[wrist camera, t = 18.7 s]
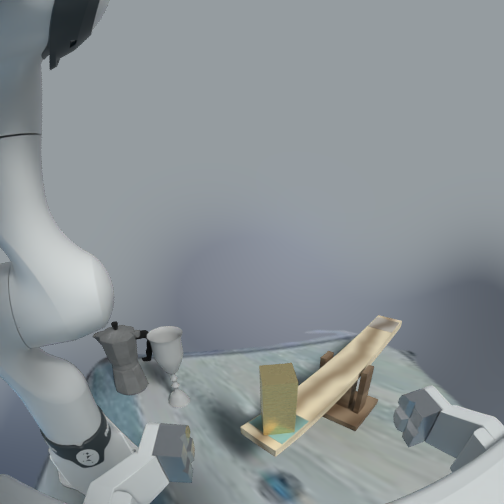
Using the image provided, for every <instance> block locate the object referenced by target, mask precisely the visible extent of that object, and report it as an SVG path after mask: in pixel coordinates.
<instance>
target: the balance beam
mask: <svg viewBox="0 0 504 504" xmlns="http://www.w3.org/2000/svg"><path fill="white" fill-rule="evenodd" d="M401 323H402V321H399V320H396V319H391V318H387V317H383V316H380V315H379V316H377V317H376V318H375V319H374V320H373V321H372V322H371V323H370V324H369V325H368V326H367V327H366V328H365V329H364V330H363V331H362V332H361V333H360V334H359V335H358V336H357V337H355V338H354V339H353V340H352V341H351V342H350V343H349V344H348V345H347V346H346V347H345V348H343V349H342V350H341V351H340V352H339V353H338V354H337V355H335V356H334V357H333V358H332V359H331V360H330V361H329V362H327V363H326V364H325V365H324V366H323V367H321V368H320V369H319V370H318V371H317V372H315V373H314V374H313V375H312V376H310V377H309V378H308V379H307V380H305V381H304V382H303V383H302V384H300V385H299V386H298V394H297V407H296V420H295V432H293V433H284V434H275V435H264V434H263V426H262V418H261V414H259V415H258V416H256V417H255V418H253V419H252V420H250V421H249V422H247V423H246V424H244V425H243V426H241V427H240V428H241V434H243V435H244V436H245V437H247V438H248V439H250V440H251V441H253V442H254V443H255V444H257V445H258V446H260V447H261V448H263V449H264V450H266V451H267V452H269V453H270V454H272V455H273V456H275V457H276V456H277V455H278V454H280V453H281V452H282V451H283V450H285V449H286V448H287V447H288V446H290V445H291V444H292V443H293V442H294V441H295V440H297V439H298V438H299V437H300V436H301V435H302V434H303V433H305V432H306V431H307V430H308V429H309V428H310V427H311V426H312V425H313V424H314V423H316V422H317V421H318V420H319V419H320V418H321V417H322V416H323V415H324V414H325V413H326V412H327V411H328V410H329V409H330V408H331V407H332V406H333V405H334V404H335V403H336V402H337V401H338V400H339V399H340V398H341V397H342V396H343V395H344V394H345V393H346V392H347V391H348V390H349V389H350V387H351V386H352V385H353V384H354V383H355V382H356V381H357V380H358V379H359V378H360V376H361V375H362V372H363V371H364V370H365V368H366V367H367V366H368V365H371V364H372V363H373V361H374V360H375V359H376V358H377V357H378V355H379V354H380V353H381V352H382V350H383V349H384V348H385V347H386V345H387V344H388V343H389V342H390V340H391V339H392V338H393V336H394V335H395V334H396V332H397V331H398V330H399V328H400V327H401Z"/></svg>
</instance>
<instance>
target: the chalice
mask: <svg viewBox="0 0 504 504" xmlns="http://www.w3.org/2000/svg"><path fill="white" fill-rule="evenodd" d="M181 335H182V330H181V329H180V328H177V327H173V326H165V327H159V328H156V329H153V330H152V331H150V332H149V333H148V334H147V339H148V340H149V341H150V343H151V347H152V351H153V356H154V358H155V360H156V361H157V363H158V364H159V365H160V367H161V368H162V369H163V370H164V371H165V372H166V373H169V374H171V378H170V380H171V381H172V382H173V384H172V385H171V386H172V387H173V388H174V391H173V392H172V393H171V394H170V398H169V404H170V405H171V406H172V407H175V408H182V407H185V406H187V405H188V404H189V403H190V398H189V396H188V395H187V394H186V393H185V392H184V391H182V390H179V389H178V386H179V383H177V379H178V378H177V377H176V375H175V373H176V372H177V371H178V370H179V367H180V364H181V362H182V358H183V349H182V344H181Z"/></svg>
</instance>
